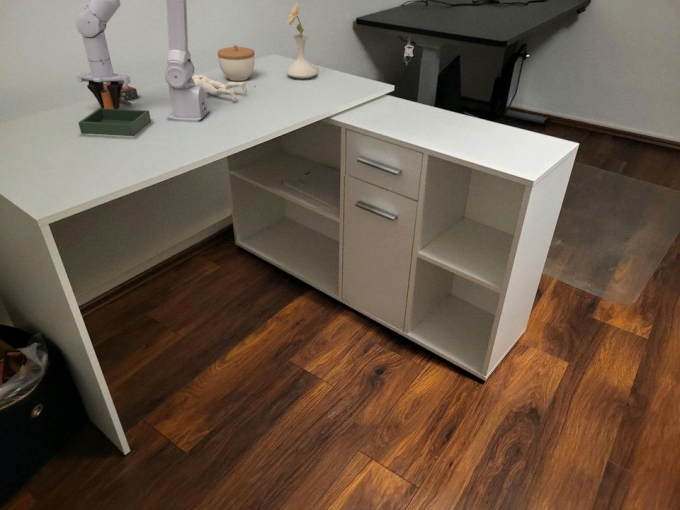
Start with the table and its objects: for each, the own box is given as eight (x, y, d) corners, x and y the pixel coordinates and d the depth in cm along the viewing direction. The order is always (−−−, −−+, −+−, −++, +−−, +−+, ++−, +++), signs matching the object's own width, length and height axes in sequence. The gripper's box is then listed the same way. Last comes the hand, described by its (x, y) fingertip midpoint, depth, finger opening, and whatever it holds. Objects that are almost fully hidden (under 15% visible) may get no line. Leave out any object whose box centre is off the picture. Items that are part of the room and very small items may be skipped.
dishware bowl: (253, 83, 180) (250, 50, 174) (217, 82, 180) (213, 49, 174) (258, 73, 191) (256, 41, 184) (224, 72, 191) (220, 40, 184)
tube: (120, 113, 154) (115, 89, 150) (115, 117, 151) (109, 93, 147) (109, 112, 154) (103, 89, 150) (104, 116, 151) (98, 92, 147)
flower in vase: (289, 71, 194) (287, -3, 180) (319, 73, 193) (319, -1, 179) (281, 81, 184) (278, 3, 169) (313, 83, 182) (312, 5, 168)
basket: (151, 122, 148) (149, 110, 146) (134, 138, 138) (131, 125, 136) (102, 120, 149) (99, 107, 147) (81, 135, 139) (78, 122, 137)
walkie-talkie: (92, 95, 167) (128, 109, 157) (89, 81, 165) (125, 94, 154) (117, 89, 173) (153, 102, 163) (114, 75, 170) (150, 88, 160)
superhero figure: (250, 97, 171) (187, 88, 179) (249, 78, 169) (185, 70, 176) (230, 103, 162) (165, 94, 170) (229, 84, 159) (163, 75, 167)
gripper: (66, 61, 141) (79, 110, 149) (118, 64, 140) (128, 113, 148) (79, 55, 147) (91, 102, 154) (129, 57, 146) (138, 105, 153)
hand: (110, 107), depth 151 cm, fingers closed on tube, 3 cm apart
